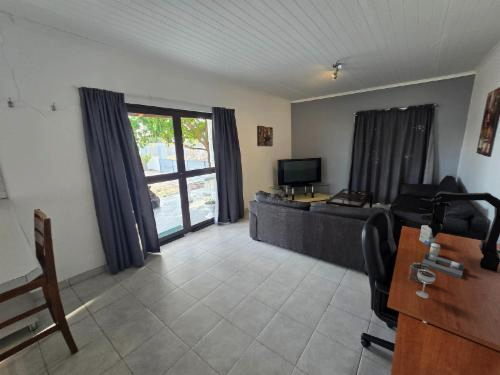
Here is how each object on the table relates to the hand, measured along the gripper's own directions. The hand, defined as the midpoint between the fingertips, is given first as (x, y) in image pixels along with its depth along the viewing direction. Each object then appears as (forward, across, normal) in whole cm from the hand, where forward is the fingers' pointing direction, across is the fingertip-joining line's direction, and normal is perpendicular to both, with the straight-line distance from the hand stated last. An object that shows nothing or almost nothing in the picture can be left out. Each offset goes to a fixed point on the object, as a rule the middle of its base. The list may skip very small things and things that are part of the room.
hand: (435, 234), depth 137 cm
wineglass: (+13, +51, +4) cm, 52 cm away
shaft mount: (+13, +15, +7) cm, 21 cm away
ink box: (+13, -14, -5) cm, 20 cm away
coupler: (+13, +2, +1) cm, 13 cm away
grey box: (+13, +40, 0) cm, 42 cm away
